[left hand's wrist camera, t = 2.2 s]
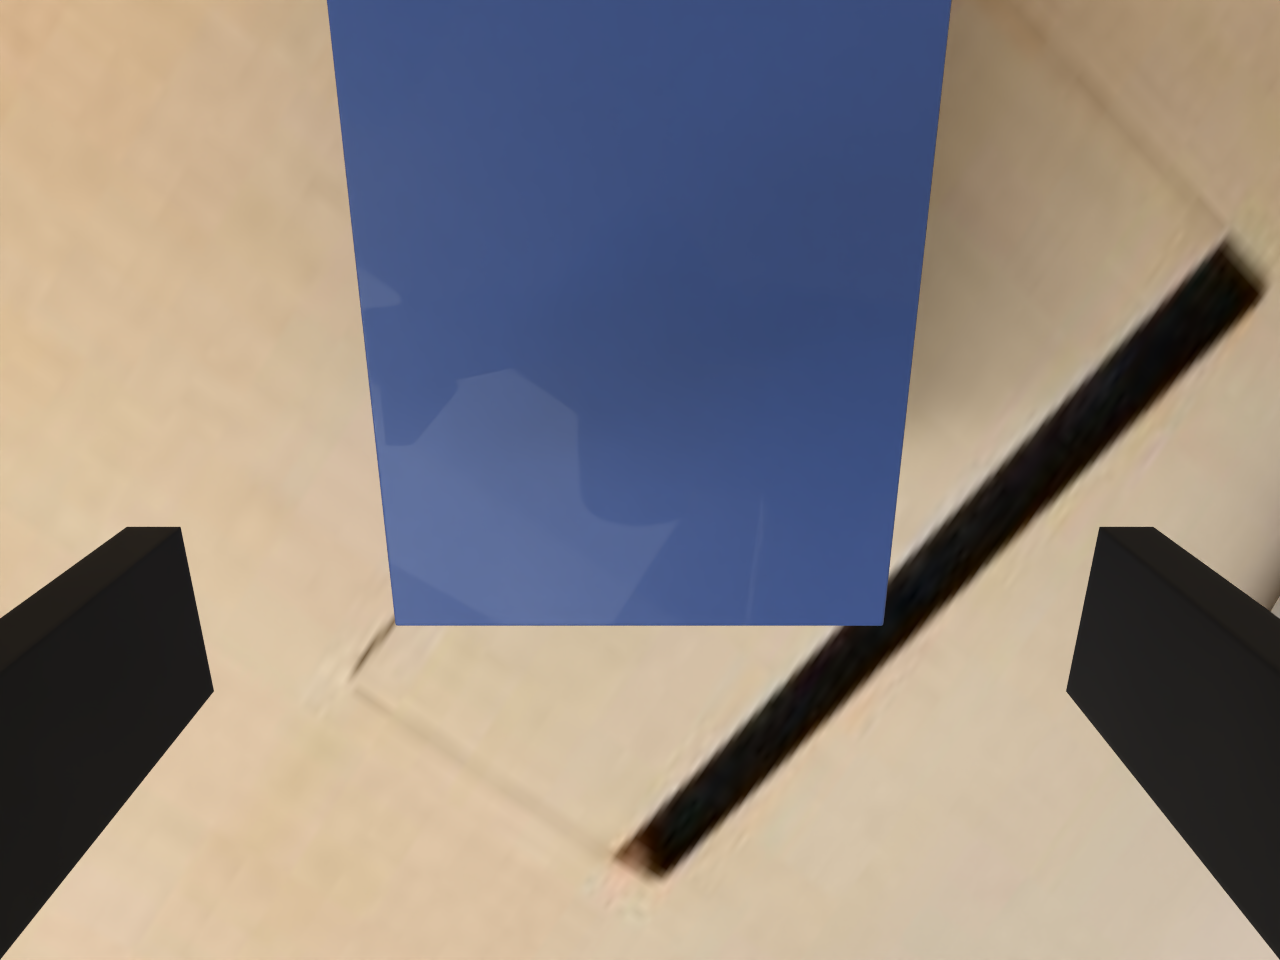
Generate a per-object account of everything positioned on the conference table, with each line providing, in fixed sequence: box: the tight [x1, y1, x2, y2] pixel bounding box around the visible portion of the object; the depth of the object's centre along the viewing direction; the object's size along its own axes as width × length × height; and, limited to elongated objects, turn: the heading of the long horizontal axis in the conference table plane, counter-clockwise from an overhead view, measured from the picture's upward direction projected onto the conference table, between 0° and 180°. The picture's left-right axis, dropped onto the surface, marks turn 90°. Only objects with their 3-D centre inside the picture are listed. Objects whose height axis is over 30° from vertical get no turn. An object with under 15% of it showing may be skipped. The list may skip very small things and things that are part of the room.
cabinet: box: [327, 0, 951, 625], centre depth 22 cm, size 17×11×12 cm, turn 0°
